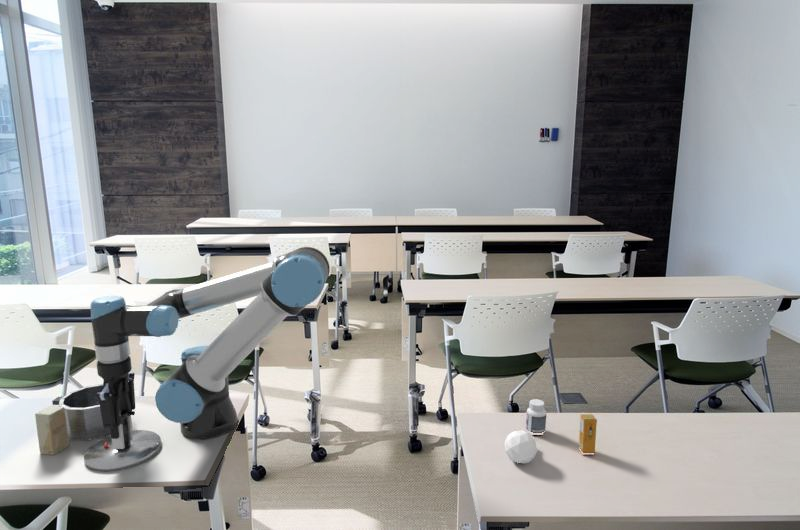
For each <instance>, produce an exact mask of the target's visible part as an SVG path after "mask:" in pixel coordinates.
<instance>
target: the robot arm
mask: <svg viewBox="0 0 800 530" xmlns="http://www.w3.org/2000/svg"><path fill="white" fill-rule="evenodd" d="M330 268H331V266H330V262H329V260H328V258H327V256H326V255H325V254H324V253H323V252H322V251H321V250H319V249H317V248H315V247H310V246H302V247H299V248H296V249H294V250H292V251H290V252H287V253H285V254H281V255H278V256H275V257H274V260H273V261H272V262H267V263H265V264H262V265H258V266H253V267H250V268H248V269H245V270H241V271H237V272H234V273H232V274H227V275H225V276H221V277H218V278H214V279H210V280H207V281H203V282H201V283H197V284H193V285H191V286H188V287H185V288H176V289H171V290H169V291H167V292H165V293H163V294H162V295H161V296H159V297H157V298H156V299H155V300H153V301H151V302H149V303H147V304H145V305H128V304H126V301H125V298H124V297H123V296H121V295H120V296H119V295H109V296H102V297H97V298H95V299H94V300H92V301H91V303H90V320H91V324H92V327H91V328H92V334H93V343H94V349H95V360H97V362H96V369H97V371H96V373H97V375H98V377H100V378H101V379H103V381H102V382H103V383H102V384H103V388H104V389H103V390H102V392H98V393H97V398H98V400H99V404H100V410H101V416H102V422H103V427H104V428H110V432H111V434H110V435H111V439H112V447H113V449H124V448H125V445H124V436H123V427H122V424H120V412H126V413H127V415H128V424H129V433H130V440H131V441H132V440H133V434H132V430H133V425H132V417H131V416H135V413H136V411H135V409H136V396H135V395H136V394H135V383H134V382H135V375H136V374H135V372H131V371H132V368H133V367H132V359H131V358H132V357H131V356H130V355H131V349H130V348H131V347H130V341H129V337H157V338H160V337H169V336H172V335H174V333H176V331H177V329H178V325H179V319H180V320H181V319H183V318H186V317H189V316H194V315H196V314H199V313H203V312H206V311H209V310H213V309H217V308H219V307H224V306H226V305H230V304H234V303H237V302H241V301H243V300H244V301H245V300H247V299H251V298H254V299H253V300H252V301H251V302H250V303H249V304H248V305H247V306H246V307H245V308H244V309H243V310H242V311H241V312H240V314H238V315H237V317H235V318H234V320H233V321H231V323H230V324H229V325H228V326H226V328H224V330H223V331H222V332H220V334H218V336H217V337H216V338H215V339H214V340H213V341H212V342H210V344H208V345H199V346H193V347H189V348H186V349H184V350H183V351H182V352H181V357H180V360H181V365H180V366H179V367H178V368H177V369H176V370H174V372H173V373H172V374H171V375H170V376H169V377H168V378H166V380H165V381H163V382H162V383H161V384H160V385H159V387H158V389H157V390H156V392H155V406H156V408H157V410H158V411H159V413H160V414H161V415H162V416H163V417H164V418H165V419H167V420H168V421H171V422H173V423H177V424H179V423H180V424H179V425H180V432H181V433H182V435H184V436H186V437H187V438H191V439H209V438H215V437H219V436H221V435H224V434H227V433H229V432H230V431H231V430H233V429H234V428H235V427H236V426H237V423H238V413H237V411H236V408H235V406H234V404H233V401H232V400H231V398H230V391H229V390H230V388H229V375H230V374H231V373H232V372H233V371H234V370H235V369H236V368H237V367H238V366H239V365H240V364H241V363H242V362H243V361H244V360H245V359H246V358H247V357H248V356H249V355H250V354H251V353H252V352H253V351H254V350H255V349H256V348H257V347H258V346H259V345H260V344H261V343H262V342H263V341H264V340H265V339H266V338H267V337H268V336H269V335H270V334H271V333H273V331H274V330H275V329H276V328H277V327H278V325H280V324H281V323H282V322H283V321H284V320H285V319H286V318H287V317H297V316H298V315H299V314H300V313H301V311H303V310H304V309H305V308H306V307H307V306H308V305H310V304H312V303H314V302H315V300H317V299H318V298H319V297H320V295H321V294H322V292H323V290H324V288H325V284H326V282H327V281H328V280H329V277H330V270H331V269H330Z"/></svg>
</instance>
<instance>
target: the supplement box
mask: <svg viewBox="0 0 800 530" xmlns="http://www.w3.org/2000/svg"><path fill="white" fill-rule="evenodd" d="M579 417H580V420H579V421H580V422H579V436H578V437H579V439H578V442H579V443H578V448H579V447H580V449H581V451H582V452H583V453H595V454H596V440H597V439H596V438H597V437H596V436H597V423H598V420H597V418H596V417H595V416H594V415H593V414H591V413H590V414H589V413H588V414H586V413H585V414H583V413H582V414H580V416H579Z"/></svg>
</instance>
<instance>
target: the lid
mask: <svg viewBox="0 0 800 530" xmlns="http://www.w3.org/2000/svg"><path fill="white" fill-rule="evenodd" d="M120 424H122V427H123V436H124V445H125V448H124V449H113V447H112V439H111V434H110V435H107V436H105V437H102V438H100V439H99V440H98V441H95V442H94V443H93V444H91V445H90V446H89V447H88V448H87V449H86V451H85V452H84V454H83V459H84V464H85V466H86V467H87V468H88V469H90V470H93V471H97V472H113V471H114V472H115V471H120V470H121V471H122V470H125V469H129V468H132V467H134V466H138V465H141V464H142V463H144V462H146V461H148V460H149V459H151V458H153V457H154V456H155V455H156V454H157V453H158V452H159V451H160V449H161V446H162V439H161V436H160V435H159V434H158V433H156V432H155V431H151V430H147V429H134V430H133V429H132V434H133V440H132V441H131V440H130V433H129V424H128V415H127V413H126V412H120Z"/></svg>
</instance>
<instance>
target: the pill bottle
mask: <svg viewBox="0 0 800 530" xmlns="http://www.w3.org/2000/svg"><path fill="white" fill-rule="evenodd" d="M528 405H529V407H527V409H526V420H525V422H526V423H525V430H526V429H527V430H528V431H530V432H533V433H542V432H544V431H545V432H546V425H547V411H546V409H545V402H544V401H543V400H542V399H537V398H535V399H534V398H533V399H531V400H529V404H528Z"/></svg>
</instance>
